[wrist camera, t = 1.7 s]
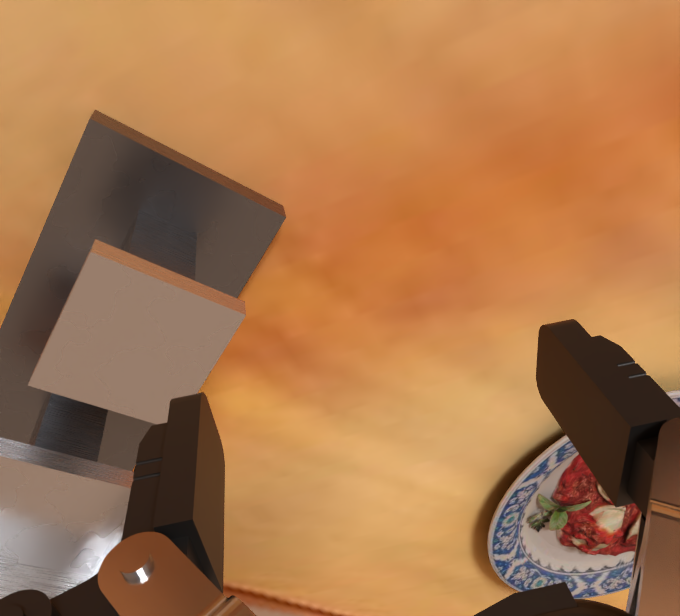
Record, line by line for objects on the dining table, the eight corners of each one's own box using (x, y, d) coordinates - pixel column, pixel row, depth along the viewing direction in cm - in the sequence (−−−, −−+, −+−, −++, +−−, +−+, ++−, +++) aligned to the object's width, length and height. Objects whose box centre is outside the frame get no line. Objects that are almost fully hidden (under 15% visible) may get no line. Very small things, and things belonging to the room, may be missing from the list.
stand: (-34, 411, 35) (-137, 615, 24) (95, 109, 27) (25, 220, 17) (132, 456, 39) (104, 647, 29) (283, 206, 32) (319, 341, 21)
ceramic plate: (820, 385, 49) (852, 409, 47) (661, 577, 62) (680, 604, 59) (557, 357, 42) (579, 384, 39) (437, 581, 54) (448, 612, 52)
